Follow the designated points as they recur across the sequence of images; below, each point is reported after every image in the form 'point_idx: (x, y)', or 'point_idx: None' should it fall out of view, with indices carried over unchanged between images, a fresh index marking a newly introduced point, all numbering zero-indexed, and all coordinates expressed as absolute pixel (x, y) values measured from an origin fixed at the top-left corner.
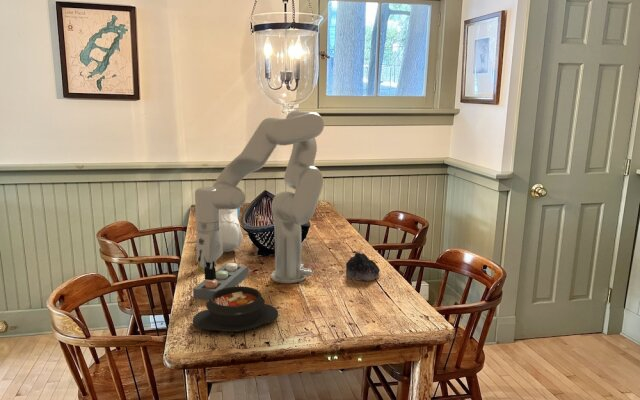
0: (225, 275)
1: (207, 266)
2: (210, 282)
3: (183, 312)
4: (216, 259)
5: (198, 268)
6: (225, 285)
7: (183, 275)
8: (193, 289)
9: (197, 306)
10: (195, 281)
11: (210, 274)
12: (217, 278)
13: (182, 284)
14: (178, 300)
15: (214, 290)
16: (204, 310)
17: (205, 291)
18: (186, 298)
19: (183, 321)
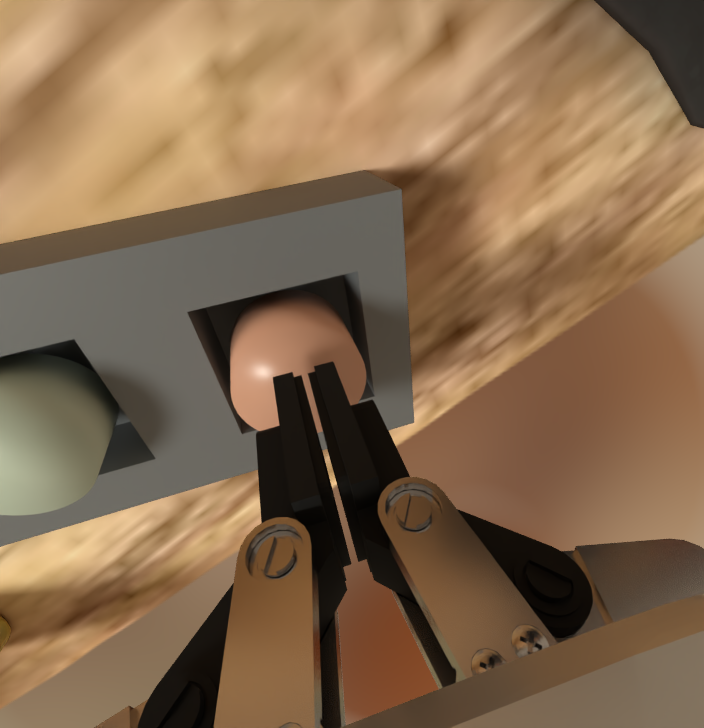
0: (12, 398)
1: (544, 544)
2: None
3: (571, 291)
4: (163, 703)
5: (3, 644)
6: (203, 233)
7: (144, 612)
8: (413, 417)
9: (481, 274)
10: (160, 534)
11: (378, 430)
12: (110, 431)
13: None
14: (432, 420)
15: (384, 255)
16: (693, 95)
17: (405, 326)
18: None
19: (688, 203)
